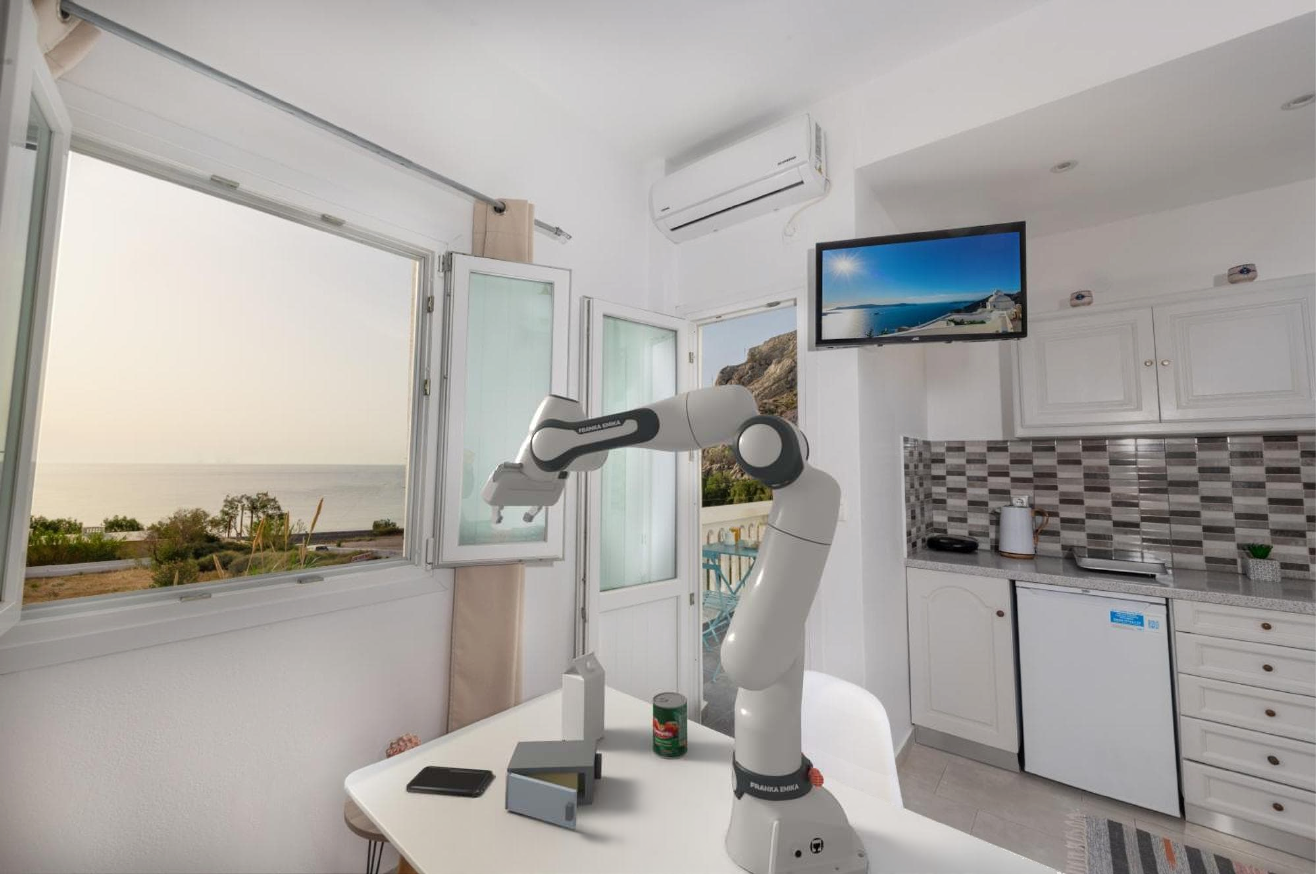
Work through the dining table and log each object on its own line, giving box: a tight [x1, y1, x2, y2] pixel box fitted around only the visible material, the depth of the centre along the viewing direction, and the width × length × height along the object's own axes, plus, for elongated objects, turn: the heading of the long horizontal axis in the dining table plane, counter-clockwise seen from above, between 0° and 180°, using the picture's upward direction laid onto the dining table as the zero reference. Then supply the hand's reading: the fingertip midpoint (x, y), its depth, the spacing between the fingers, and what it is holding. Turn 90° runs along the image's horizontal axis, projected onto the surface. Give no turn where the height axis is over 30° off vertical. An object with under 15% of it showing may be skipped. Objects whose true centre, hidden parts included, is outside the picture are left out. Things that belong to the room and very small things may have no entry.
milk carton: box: [561, 650, 606, 741], centre depth 120 cm, size 7×7×19 cm
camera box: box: [506, 740, 603, 806], centre depth 100 cm, size 17×10×7 cm, turn 93°
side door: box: [504, 771, 578, 830], centre depth 91 cm, size 15×2×6 cm, turn 68°
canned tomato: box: [652, 691, 689, 760], centre depth 115 cm, size 8×8×11 cm
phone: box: [405, 765, 494, 798], centre depth 102 cm, size 8×1×15 cm
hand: (511, 521), depth 111 cm, fingers open, 8 cm apart
